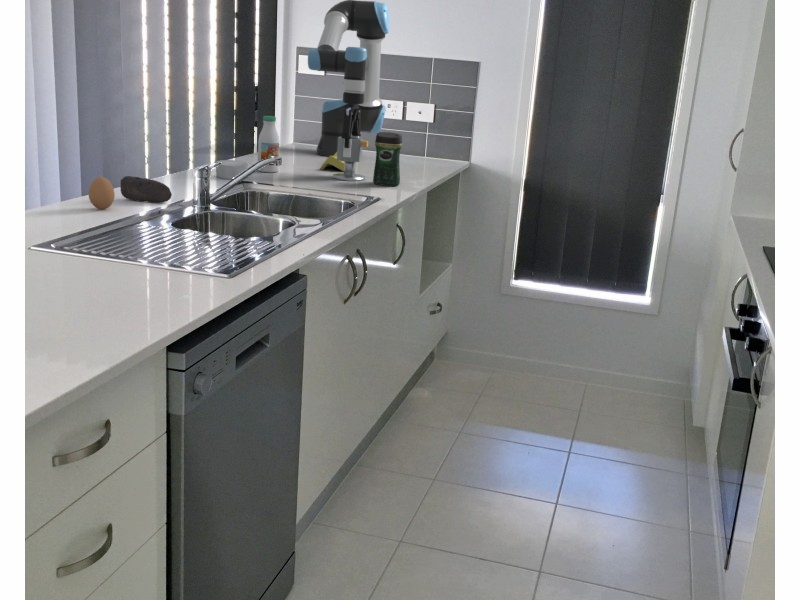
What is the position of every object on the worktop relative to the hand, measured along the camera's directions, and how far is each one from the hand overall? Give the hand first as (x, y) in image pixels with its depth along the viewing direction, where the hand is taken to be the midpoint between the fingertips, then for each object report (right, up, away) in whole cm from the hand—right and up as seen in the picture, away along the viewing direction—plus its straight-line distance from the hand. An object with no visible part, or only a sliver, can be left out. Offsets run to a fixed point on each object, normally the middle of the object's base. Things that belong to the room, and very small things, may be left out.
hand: (350, 155), depth 311 cm
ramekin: (-41, -10, -13) cm, 44 cm away
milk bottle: (-31, -5, +5) cm, 31 cm away
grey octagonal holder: (+1, -2, 0) cm, 2 cm away
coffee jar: (+13, -11, -4) cm, 18 cm away
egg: (-64, -28, -75) cm, 103 cm away
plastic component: (-5, -1, +25) cm, 25 cm away
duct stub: (-1, -8, +3) cm, 8 cm away
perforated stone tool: (-56, -24, -61) cm, 86 cm away
